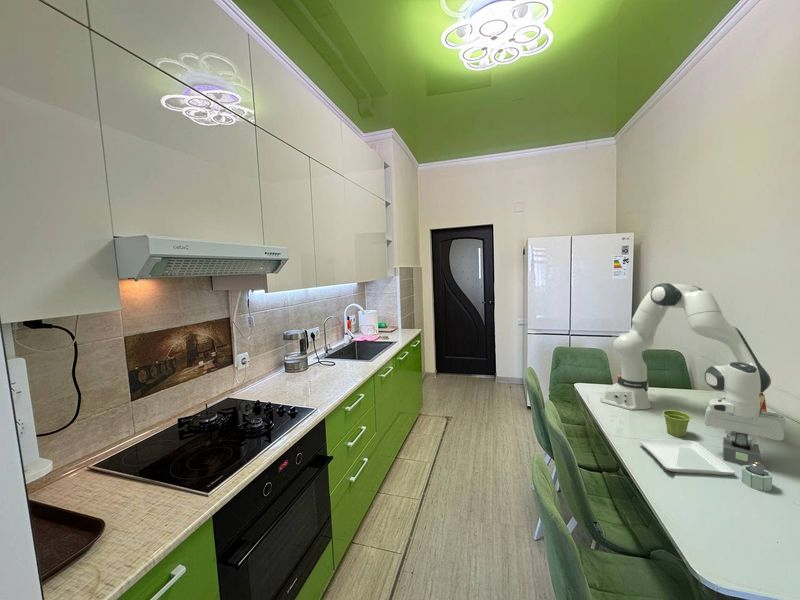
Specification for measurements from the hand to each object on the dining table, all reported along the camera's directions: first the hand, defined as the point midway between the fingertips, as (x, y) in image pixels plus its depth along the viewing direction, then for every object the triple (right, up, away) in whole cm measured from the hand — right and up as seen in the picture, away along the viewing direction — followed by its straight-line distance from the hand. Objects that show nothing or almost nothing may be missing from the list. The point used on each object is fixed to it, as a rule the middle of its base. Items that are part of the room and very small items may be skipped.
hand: (741, 443), depth 120 cm
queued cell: (+7, -6, +10) cm, 13 cm away
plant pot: (-5, -6, +22) cm, 23 cm away
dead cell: (-9, -8, -13) cm, 17 cm away
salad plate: (-19, -9, +3) cm, 21 cm away
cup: (-9, -9, -13) cm, 18 cm away
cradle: (0, -7, +1) cm, 7 cm away
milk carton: (+27, -3, +22) cm, 35 cm away
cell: (0, -3, 0) cm, 3 cm away
